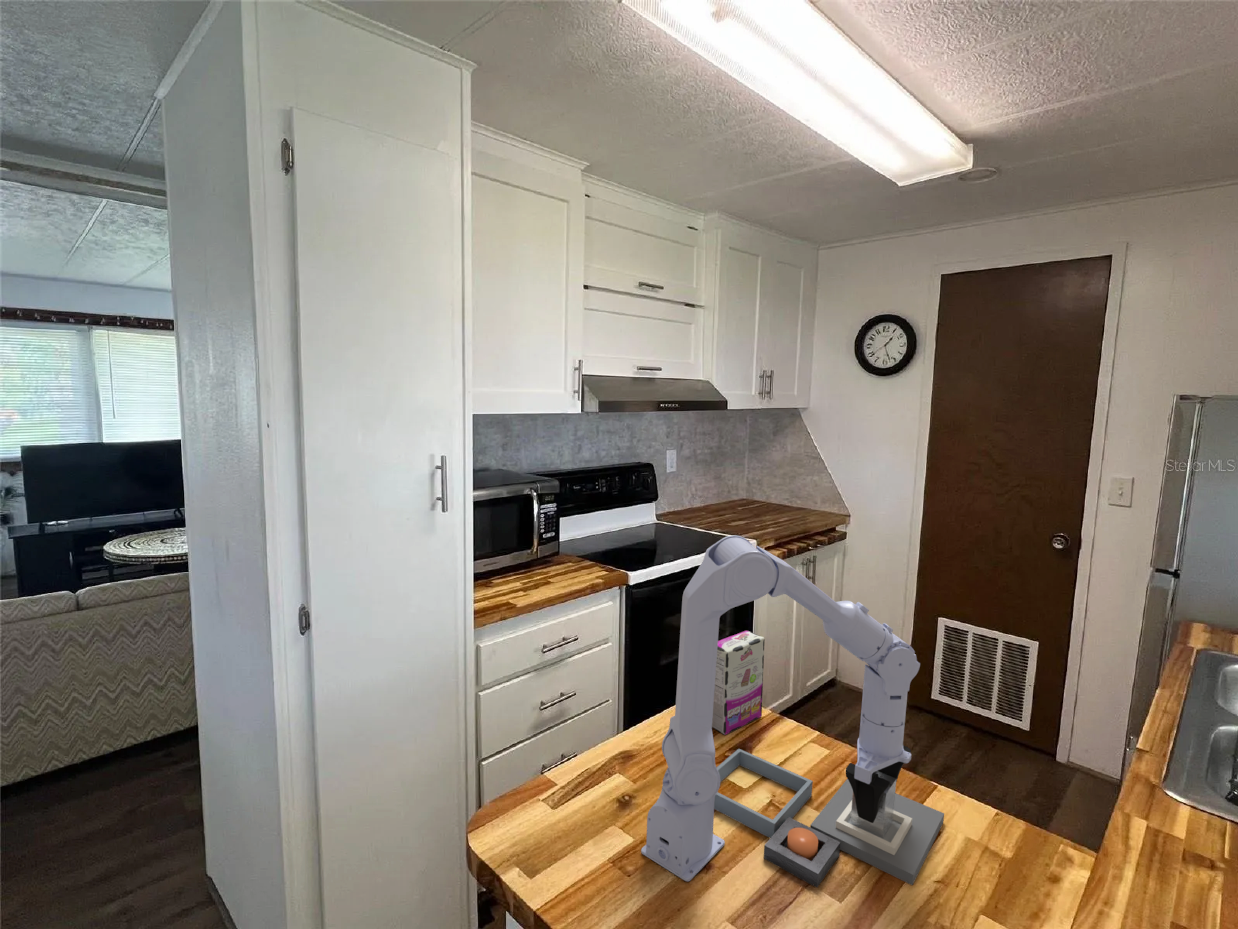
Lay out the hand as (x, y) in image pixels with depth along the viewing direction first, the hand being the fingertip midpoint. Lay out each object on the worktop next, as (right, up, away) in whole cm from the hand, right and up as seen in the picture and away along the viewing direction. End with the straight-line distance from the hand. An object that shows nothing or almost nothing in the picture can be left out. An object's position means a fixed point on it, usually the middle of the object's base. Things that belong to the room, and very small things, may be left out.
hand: (875, 805), depth 90 cm
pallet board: (+1, -5, +2) cm, 5 cm away
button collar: (-12, -5, -4) cm, 13 cm away
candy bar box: (-15, -1, +31) cm, 34 cm away
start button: (-12, -5, -4) cm, 13 cm away
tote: (-16, -3, +8) cm, 18 cm away
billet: (0, -3, +1) cm, 3 cm away
